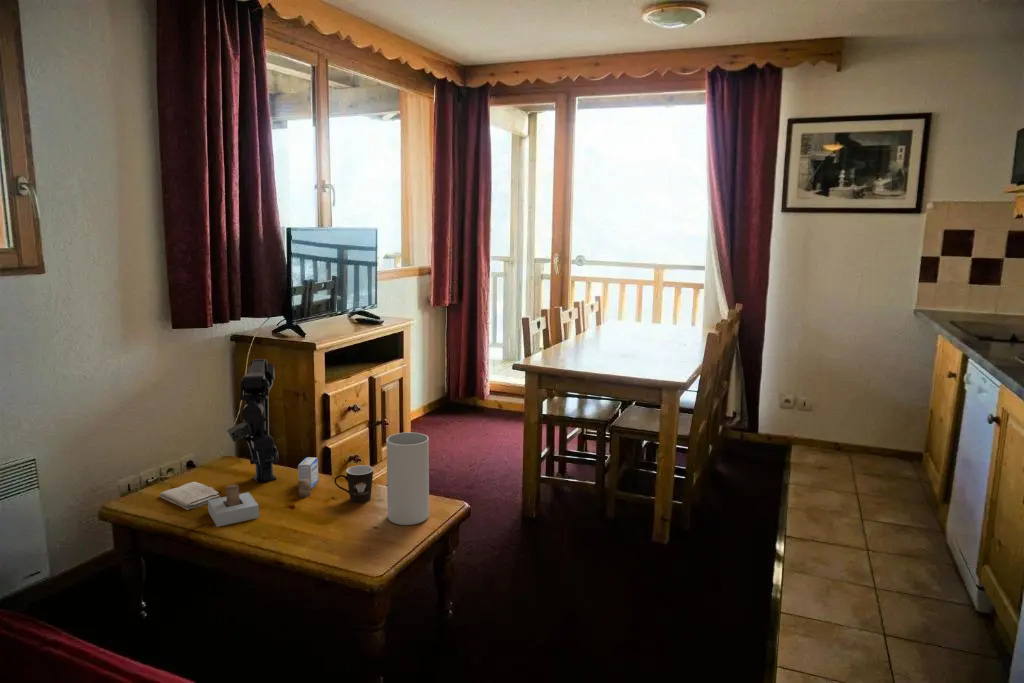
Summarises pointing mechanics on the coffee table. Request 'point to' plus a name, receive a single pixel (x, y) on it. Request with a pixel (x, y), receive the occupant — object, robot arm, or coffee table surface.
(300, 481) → the short dowel
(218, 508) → the socket block
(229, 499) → the long dowel
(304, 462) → the medicine box
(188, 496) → the washcloth
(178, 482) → the coffee table surface
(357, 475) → the coffee mug
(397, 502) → the cylinder vase
